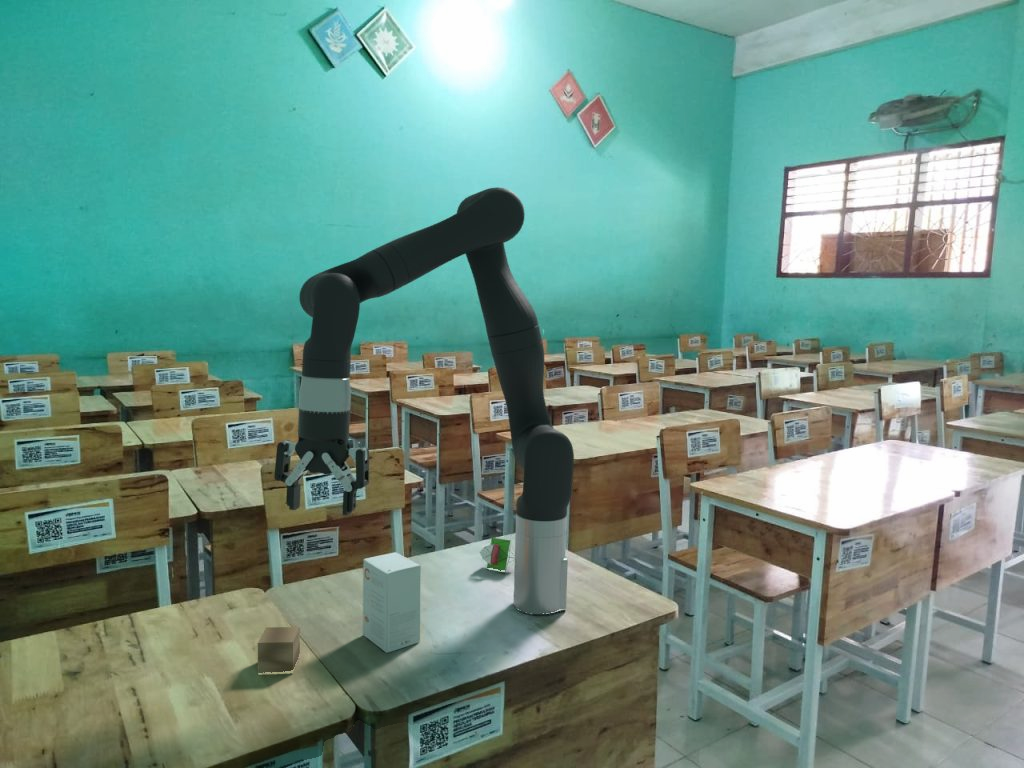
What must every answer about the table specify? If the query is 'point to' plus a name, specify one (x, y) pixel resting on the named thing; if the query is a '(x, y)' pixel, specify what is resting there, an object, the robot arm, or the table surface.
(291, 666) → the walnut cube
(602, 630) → the table surface
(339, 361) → the robot arm
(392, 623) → the small box
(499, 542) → the geometric puzzle
